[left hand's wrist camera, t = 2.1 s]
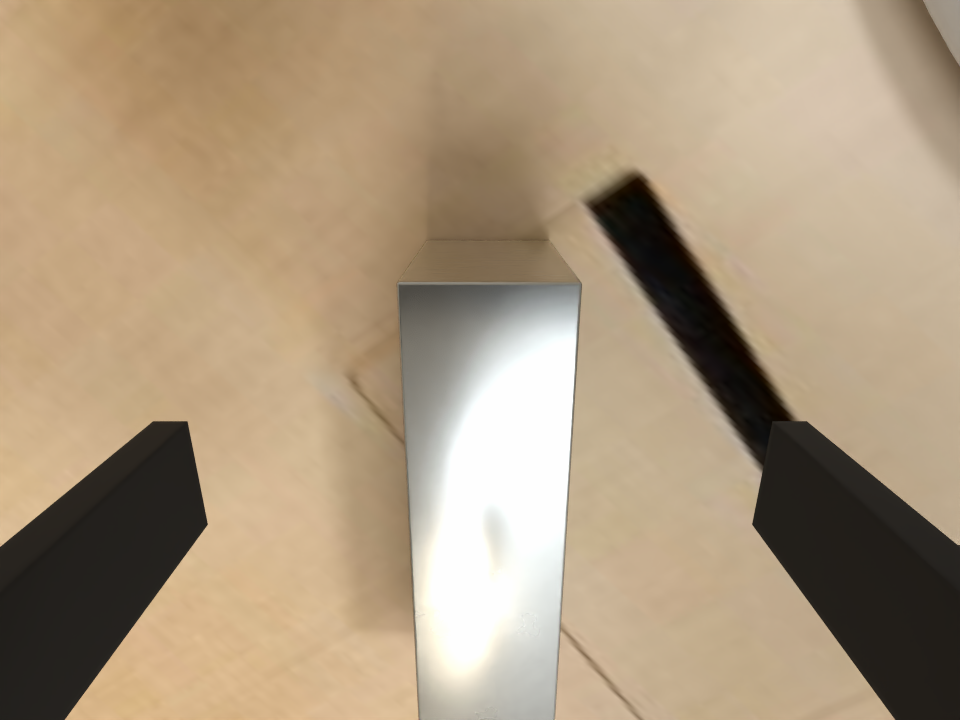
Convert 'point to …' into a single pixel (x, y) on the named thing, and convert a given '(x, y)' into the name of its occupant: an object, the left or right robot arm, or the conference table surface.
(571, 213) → the conference table surface
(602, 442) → the conference table surface
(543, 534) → the bar
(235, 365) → the conference table surface
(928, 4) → the projector
